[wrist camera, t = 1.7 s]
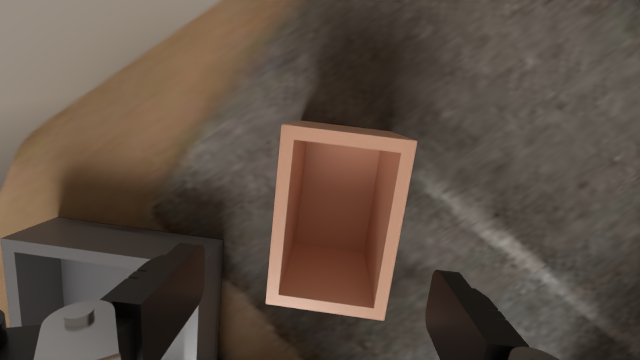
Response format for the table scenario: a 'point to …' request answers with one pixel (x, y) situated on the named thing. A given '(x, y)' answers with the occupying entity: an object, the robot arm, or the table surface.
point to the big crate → (102, 274)
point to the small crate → (337, 217)
